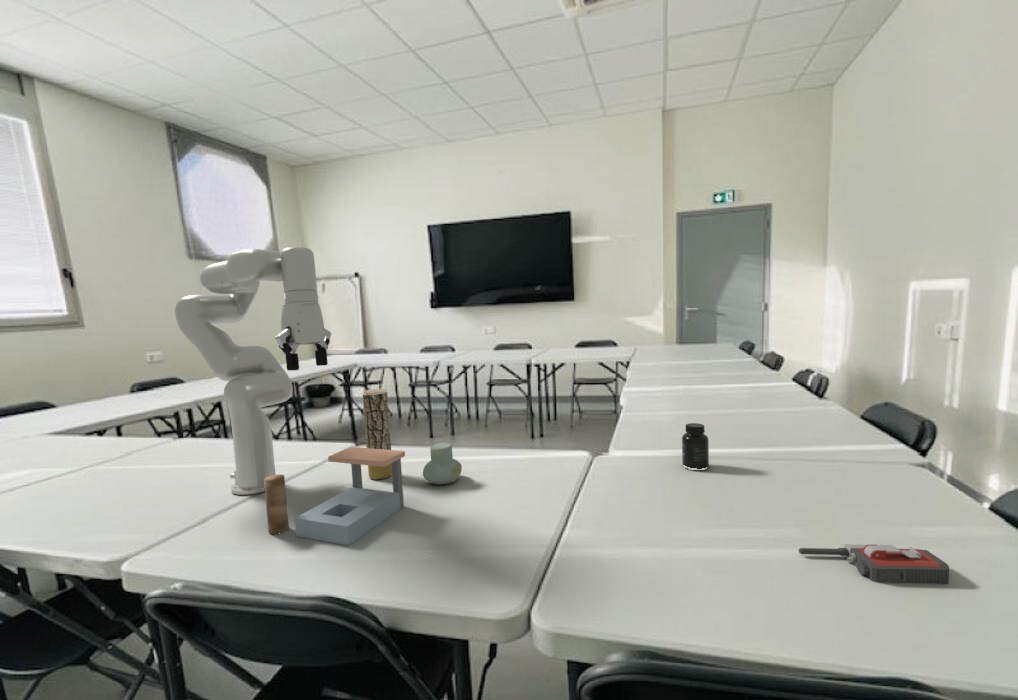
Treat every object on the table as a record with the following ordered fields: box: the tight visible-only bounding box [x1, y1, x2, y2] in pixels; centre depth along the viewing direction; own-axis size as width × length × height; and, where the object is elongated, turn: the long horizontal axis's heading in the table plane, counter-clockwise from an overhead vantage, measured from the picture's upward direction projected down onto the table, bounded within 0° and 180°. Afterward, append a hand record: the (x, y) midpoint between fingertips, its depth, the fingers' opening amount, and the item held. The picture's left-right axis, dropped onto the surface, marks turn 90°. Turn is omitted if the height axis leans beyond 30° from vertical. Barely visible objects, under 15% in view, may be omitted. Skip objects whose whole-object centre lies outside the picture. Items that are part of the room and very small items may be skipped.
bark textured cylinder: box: [362, 388, 392, 480], centre depth 133 cm, size 7×7×25 cm
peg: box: [264, 474, 290, 535], centre depth 102 cm, size 4×4×12 cm
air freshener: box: [422, 442, 462, 485], centre depth 127 cm, size 11×8×10 cm
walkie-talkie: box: [798, 543, 950, 585], centre depth 77 cm, size 9×4×20 cm
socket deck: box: [294, 446, 406, 546], centre depth 105 cm, size 16×20×14 cm
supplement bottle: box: [681, 422, 710, 469], centre depth 129 cm, size 7×7×12 cm
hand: (308, 367), depth 115 cm, fingers open, 9 cm apart
